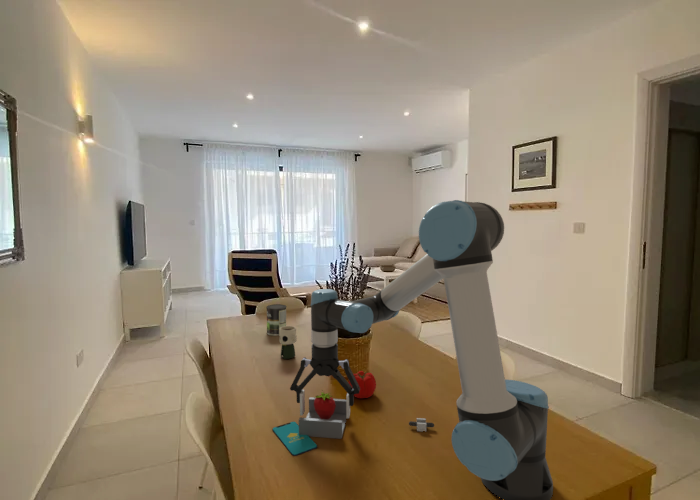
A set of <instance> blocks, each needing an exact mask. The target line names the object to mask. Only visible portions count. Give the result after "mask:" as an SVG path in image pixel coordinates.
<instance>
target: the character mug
mask: <svg viewBox="0 0 700 500" xmlns="http://www.w3.org/2000/svg"><path fill="white" fill-rule="evenodd" d="M278 337H279V339H278V341H279V343H280V344H281V349H280V358H282V359H286V360H289V359H292V358H294V357H295V356H296V350H295V345H294V344H296V343H297V339H298V338H297V327H296V326H292V325H286V326H284V327H280V329H279V336H278Z"/></svg>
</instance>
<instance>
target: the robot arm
mask: <svg viewBox="0 0 700 500" xmlns="http://www.w3.org/2000/svg"><path fill="white" fill-rule="evenodd" d="M504 235H505V223H504V220H503V217H502V215H501V214H500V212H499V211H498V210H497V208H495V207H493V206H492V205H490V204H487V203H486V202H480V201H478V202H477V201H476V202H475V201H474V202H472V201H464V200H458V199H455V200H448V201H442V202H441V201H440V202H438V203H436V204H434V205H433V206H431V207H430V208H429V209H428V210H427V211H426V212H425V214H424V216H423V217H422V219H421V221H420V224H419V228H418V239H419V244H420V247H421V249H422V250H423V252H424V253H426V254H425V255H423V256H422V257H421V258H420V259H418V260H417V261H416V262H415V263H413V264H412V265H411V266H410V267H408V268H407V269H406V270H405V271H403V272H402V273H401V274H400V275H398V276H397V277H396V278H394V279H393V280H392V281H391V282H390V283H388V284H387V285H385V286H384V287H383V288H382V289H381V290H379V292H377V293H376V294H375V295H373V296H370V297H369V296H368V297H365V298H361V299H355V300H351V301H350V300H349V301H347V300H342V299H338V298H339V296H338V291H336V290H335V289H331V288H322V289H321V288H320V289H316V290H313V291H312V293H311V296H310V297H311V298H310V321H311V330H310V331H311V339H310V341H311V343H312V344H311V359H307V358H306V357H305V356H304V357H303V358H302V359H301V360H300V365H299V368H298V371H297V373H296V375H295V377H294V379H293V381H292V383H291V385H290V387H289V390H290V391H293V392H295V393H296V403H298V404H299V416H304V413H305V411H306V410H305V409H306V405H305V404H306V403H305V402H306V399H305V398H306V397H305V392H306V391H305V389H304V388H305V387H306V386H307V385H308V383H310V381H311V380H312V379H313V378H314V377H315V376H316V375H317V376H320V377H323V376H325V377H330V376H332V377H333V378H334V379H335V380H336V381H337V382H338V383H339V384H340V386H341V387H342V388H343V389H344V390H345V392H346V397H345V398H346V399H345V400H346V418H347V419H350V417H351V407H353V406H354V403H355V396H354V394H359V391H360V387H359V385H358V383H357V381H356V379H355V377H354V375H353V374H354V373H353V370H352V369H351V367H350V360H349V359H348V358H346V359H344V360H340V359H339V355H338V354H339V353H338V352H339V347H338V346H339V344H338V339H339V338H338V336H339V334H338V332H339V331H338V329H342V330H345V331H347V332H351V333H359V334H364V333H366V332H367V331H368V330H369V329H370V328H372V326H373V324H376V323H380V322H385V321H389V320H391V319H392V318H395V317H397V316H398V314H399V312H400V310H401V309H403V308H404V307H406V306H407V305H408V304H409V303H411V302H412V301H414V300H415V299H417V298H418V297H420V296H421V295H423V293H426V292H427V291H428V290H430V289H431V288H433V287H434V286H436V284H438V283H439V282H441V281H442V280H443V282H444V288H445V289H444V290H445V294H446V303H447V306H448V313H449V319H450V324H451V332H452V337H453V343H454V344H453V345H454V349H455V356H456V363H457V366H458V367H457V368H458V373H459V379H460V380H459V381H460V386H461V391H462V392H461V394H460V396H458V398H457V399H456V410H457V416H458V422H457V424H456V425H455V427H454V428H453V430H452V432H451V445H452V448H453V451H454V454H455V455H456V458H457V459H458V460H459V461H460V463H461V464H462V465H463V466H465V467H466V468H467V470H468V471H469V472H470V473H471V474H473V475H475V476H476V477H478V478H480V479H481V483H482V484H483V485H485V486H486V487H487V488H488V489H489V490H490V491H491V492H492V493H494V494H495V495H497V496H498V497H500V498H502V499H504V500H550V499H551V500H552V498H553V496H552V495H553V494H554V493H553V491H554V482H553V477H552V475H551V471H550V468H549V464H548V462H547V458H546V451H547V436H548V435H547V434H548V433H547V431H548V414H549V407H550V406H549V399H548V397H549V396H548V394H547V393H546V391H544V390H543V389H541V388H540V387H538V386H536V385H533V384H531V383H528V382H524V381H519V380H514V379H513V380H512V379H505V372H504V366H503V361H502V354H501V349H500V343H499V337H498V331H497V325H496V320H495V312H494V307H493V300H492V296H491V289H490V284H489V278H488V269H489V268H490V267H491V265H492V264H493V263H494V259H493V254H492V251H493V250H494V249H496V248H497V247H498V246H499V245H500V243H502V240H503V239H504V238H503V237H504ZM309 365H310V366H311V368H312V370H311V371H310V373H309V374H308V375H307V376H305V378H304V379H303V381H302V382H301V383H300V384H299V385H298V383H299V381H300V379H301V377H302V375H303V373H304V371H305V369H306V368H307V367H308V366H309ZM340 366H341V369H342V370H344V373H345V375H346V377H347V379H346V377H344V376H343V374H342V373H341V371H340V369H338V368H339V367H340ZM347 380H348V381H347ZM349 381H350V383H351V385H352V387H353V388H352V387H351V385H350V384H349V383H348V382H349ZM485 486H484V487H485ZM486 487H485V488H486ZM487 488H486V489H487ZM488 489H487V490H488ZM489 490H488V491H489ZM490 491H489V492H490ZM491 492H490V493H491ZM492 493H491V494H492ZM494 494H493V495H494ZM495 495H494V496H495ZM497 496H496V497H497ZM498 497H497V498H498ZM551 497H552V498H551ZM500 498H499V499H500ZM502 499H501V500H502Z"/></svg>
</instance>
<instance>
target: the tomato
mask: <svg viewBox="0 0 700 500" xmlns="http://www.w3.org/2000/svg"><path fill="white" fill-rule="evenodd" d="M353 375H354V377H355V379H356V381H357V383H358V385H359V387H360V391H359V394H354V398H357V399H367V398H370V397H372V396H373V394H374V393H375V390H376V388H377V382H376V378H375V375H373V373H372V372H367V371H366V372H364V371H363V370H359V371H358V372H356V373H353ZM347 382H348V383H349V384H350V385H351V383H350V381H349V380H348V381H347ZM351 387H352V385H351ZM352 388H353V387H352Z"/></svg>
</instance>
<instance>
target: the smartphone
mask: <svg viewBox="0 0 700 500" xmlns="http://www.w3.org/2000/svg"><path fill="white" fill-rule="evenodd" d="M272 432H273V433H274V434H275V436H276V437H277V439H279V440H280V442H281V443H282V444H283V446H284V447H285V448H286V449H287V451H288V452H289V454H291V455H292V456H293V457H295V456H296V457H297V456H299V455H302V454H305V453H309V452H311V451H313V450H315V449H318V444H316V442H315V441H314V440H313V439H312V437H311V436H308V435H300V434H299V423H297V421H290V422H287V423H284V424H281V425H277V426H274V427H273V428H272Z"/></svg>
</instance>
